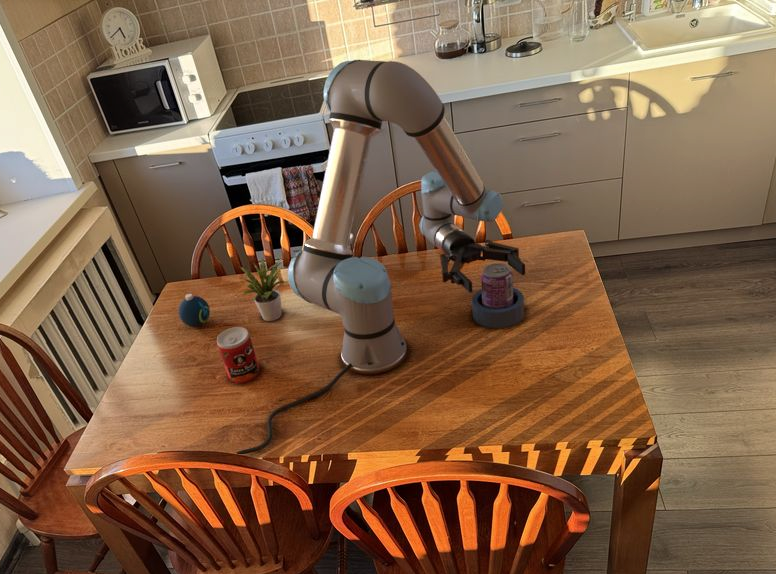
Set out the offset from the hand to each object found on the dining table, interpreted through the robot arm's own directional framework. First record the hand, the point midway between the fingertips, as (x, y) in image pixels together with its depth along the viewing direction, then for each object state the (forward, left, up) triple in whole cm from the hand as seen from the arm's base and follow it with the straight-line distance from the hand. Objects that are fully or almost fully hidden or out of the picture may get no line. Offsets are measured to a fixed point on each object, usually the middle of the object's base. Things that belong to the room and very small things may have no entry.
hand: (497, 278), depth 150 cm
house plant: (-36, +45, -10) cm, 59 cm away
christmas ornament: (-52, +60, -10) cm, 80 cm away
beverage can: (0, 0, -10) cm, 10 cm away
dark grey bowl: (0, 0, -10) cm, 10 cm away
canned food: (-55, +30, -10) cm, 64 cm away
